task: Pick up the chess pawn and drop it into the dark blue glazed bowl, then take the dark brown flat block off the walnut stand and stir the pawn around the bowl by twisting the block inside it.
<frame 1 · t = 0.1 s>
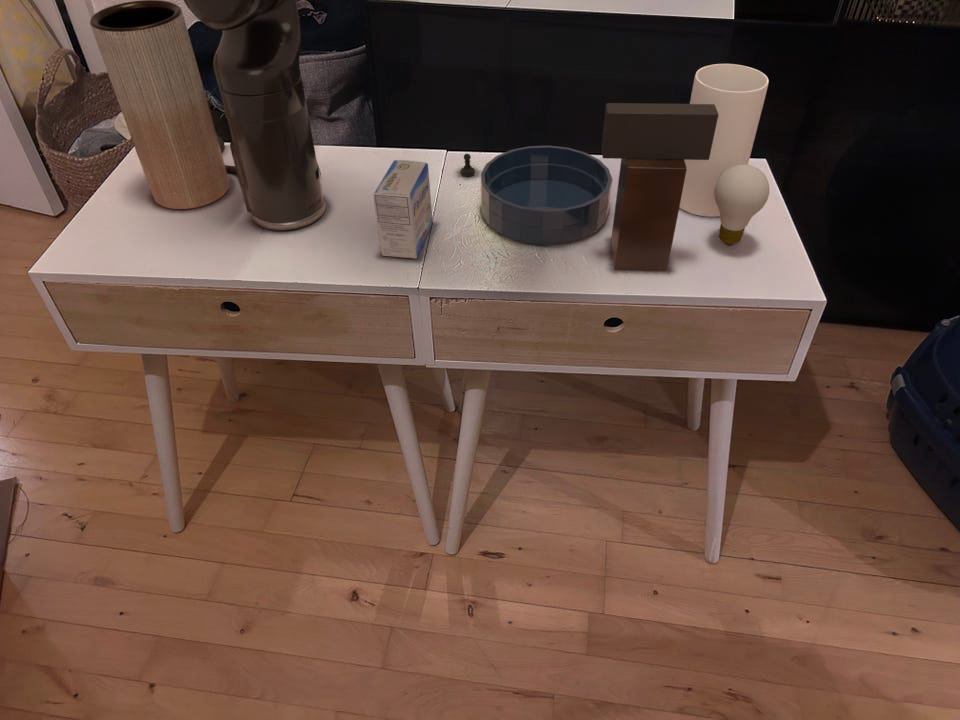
planter: (192, 192, 100), on the table
cup: (704, 201, 96), on the table
light bulb: (727, 244, 89), on the table
medicine box: (407, 241, 90), on the table
stand: (638, 255, 87), on the table
chess pawn: (467, 174, 102), on the table
bowl: (544, 211, 94), on the table
dark brown flat block: (654, 153, 78), point 13 cm above the table, touching stand
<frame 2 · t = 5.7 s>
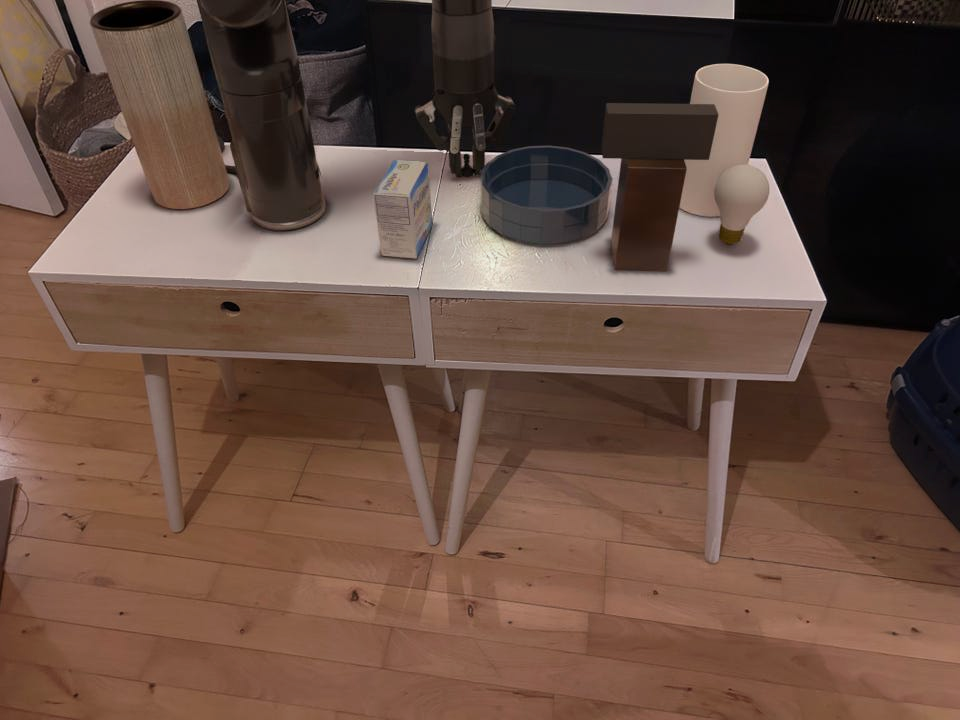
hand: (467, 173, 102), 0 cm above the table, tool pointing down, fingers closed on chess pawn, 2 cm apart
chess pawn: (466, 174, 102), on the table, touching gripper
everything else where it was.
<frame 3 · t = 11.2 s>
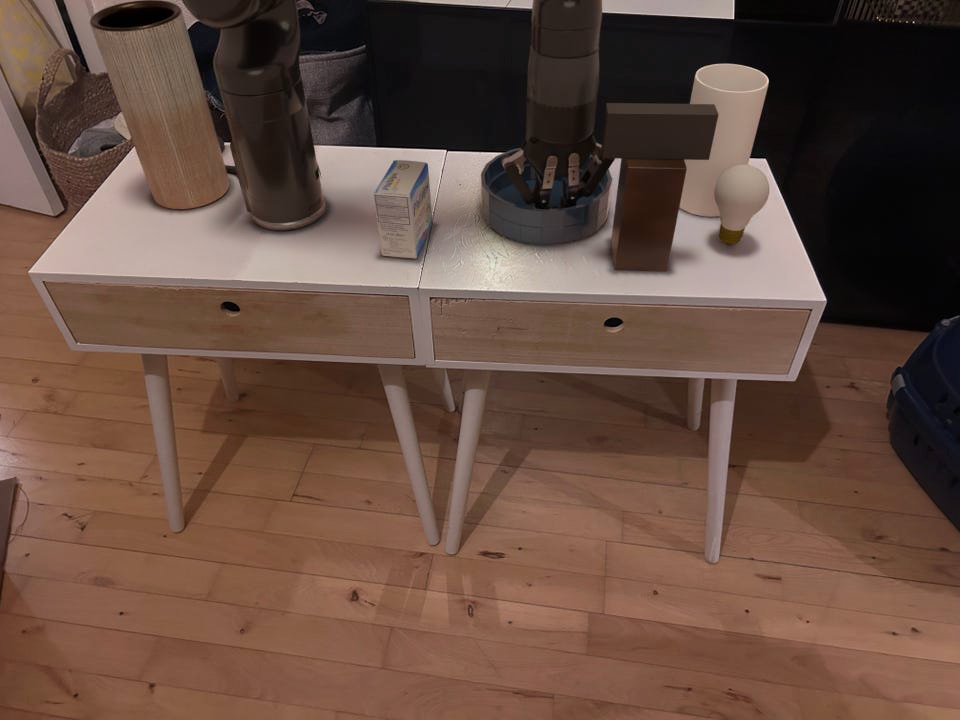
hand: (553, 226, 91), 1 cm above the table, tool pointing down, fingers closed on chess pawn, 2 cm apart
chess pawn: (553, 228, 91), resting on bowl, touching gripper
everything else where it was.
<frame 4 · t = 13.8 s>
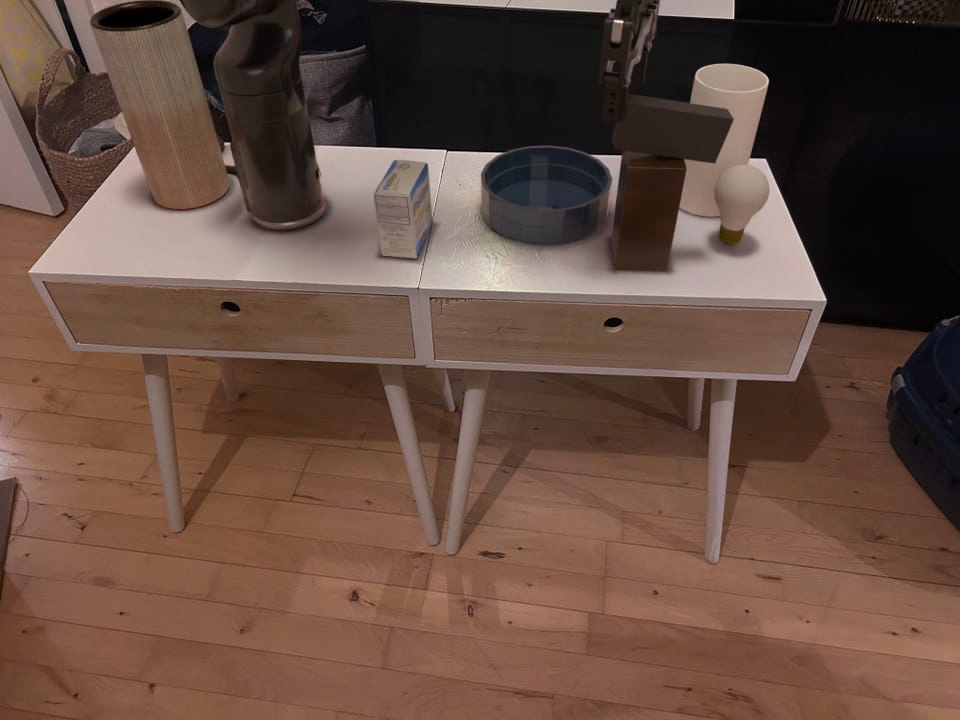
hand: (622, 103, 77), 17 cm above the table, tool pointing down, fingers open, 8 cm apart
chess pawn: (553, 228, 91), resting on bowl
dark brown flat block: (663, 151, 78), point 13 cm above the table, tilted 11°, touching stand
everything else where it was.
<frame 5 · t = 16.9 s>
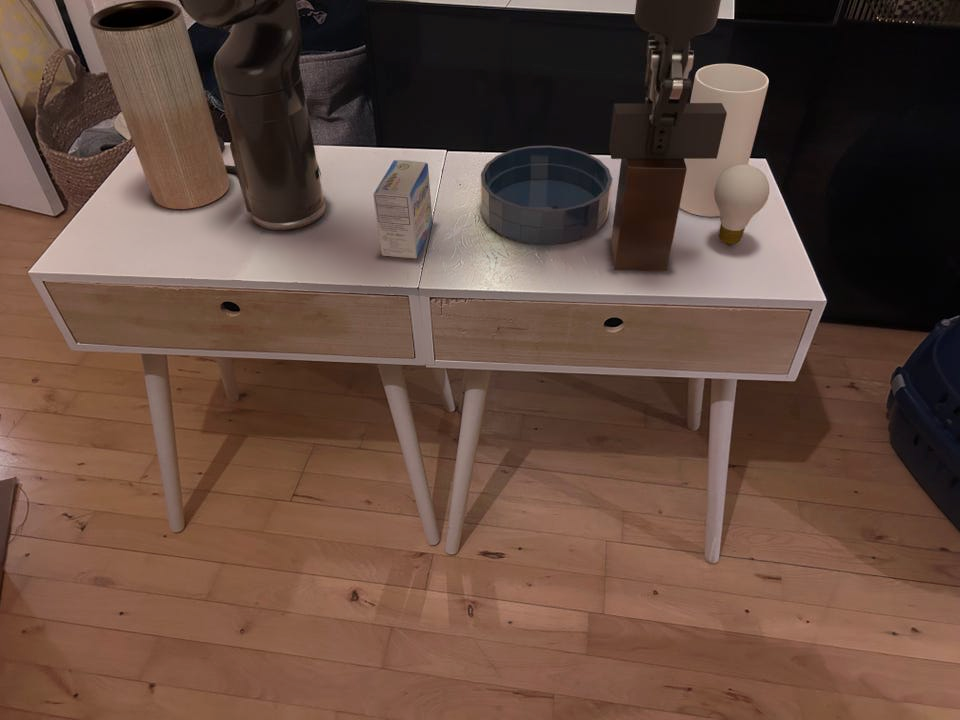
hand: (654, 148, 78), 14 cm above the table, tool pointing down, fingers closed on dark brown flat block, 2 cm apart
dark brown flat block: (662, 153, 78), point 13 cm above the table, touching gripper
everything else where it was.
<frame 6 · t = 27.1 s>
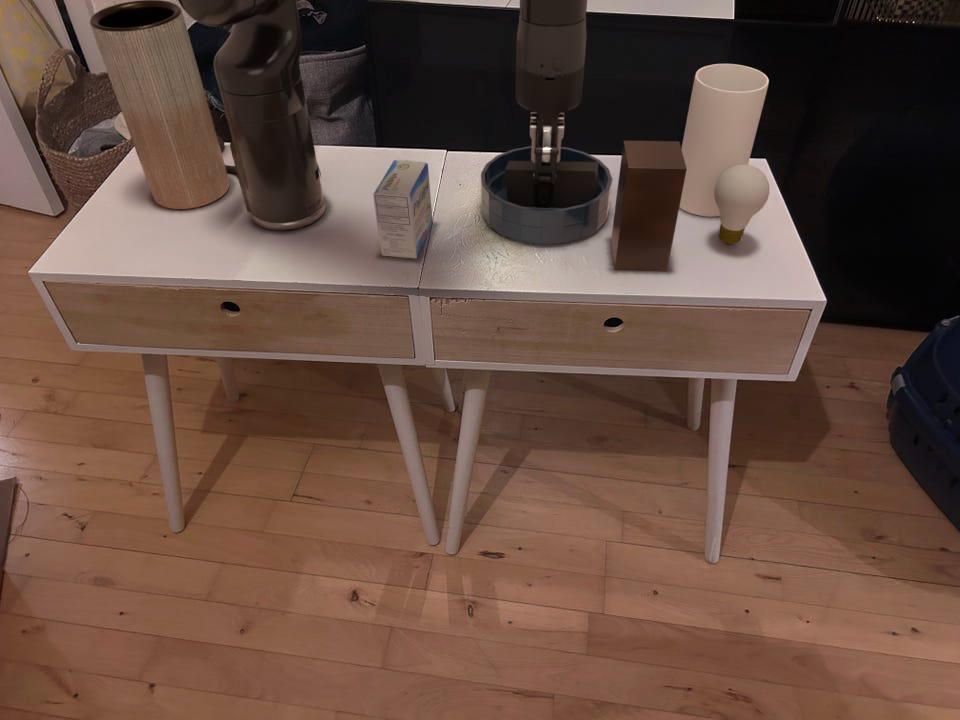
hand: (543, 199, 92), 2 cm above the table, tool pointing down, fingers closed on dark brown flat block, 2 cm apart
chess pawn: (587, 209, 92), point 1 cm above the table, touching bowl, dark brown flat block
dark brown flat block: (553, 202, 92), point 2 cm above the table, tilted 6°, touching chess pawn, gripper
everything else where it was.
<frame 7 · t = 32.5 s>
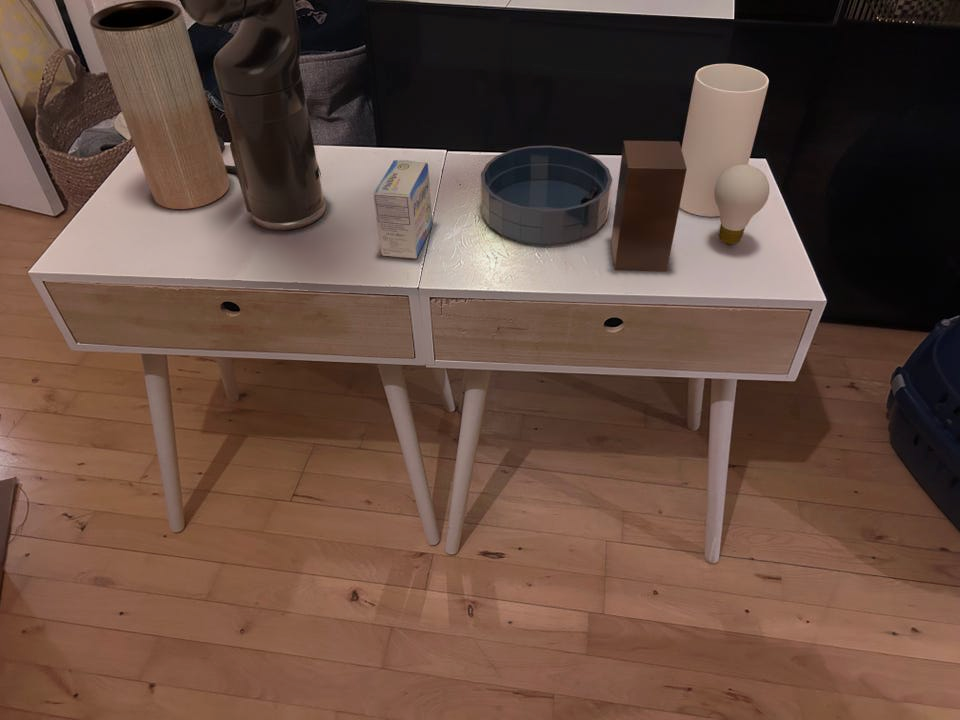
chess pawn: (587, 204, 92), point 2 cm above the table, touching bowl
at the end: chess pawn inside the target area in the bowl (5.4 cm from its centre), point 1.5 cm above the bowl's base; chess pawn inside the target area in the bowl (5.2 cm from its centre), point 1.5 cm above the bowl's base; the gripper is holding dark brown flat block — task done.
